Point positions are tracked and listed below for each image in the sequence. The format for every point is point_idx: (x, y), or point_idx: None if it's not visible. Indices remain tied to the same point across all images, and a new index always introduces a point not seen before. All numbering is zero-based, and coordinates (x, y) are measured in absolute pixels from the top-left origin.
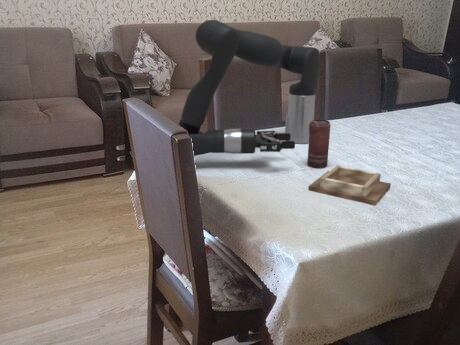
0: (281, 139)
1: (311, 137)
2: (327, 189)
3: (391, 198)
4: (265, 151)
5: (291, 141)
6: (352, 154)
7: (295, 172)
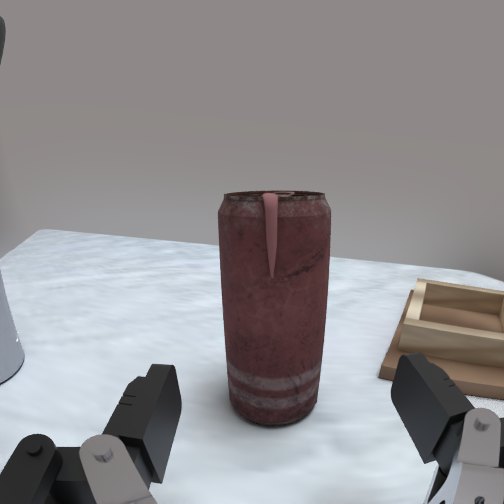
0: (164, 455)
1: (308, 289)
2: None
3: None
4: None
5: (426, 362)
6: (172, 314)
7: (390, 472)
